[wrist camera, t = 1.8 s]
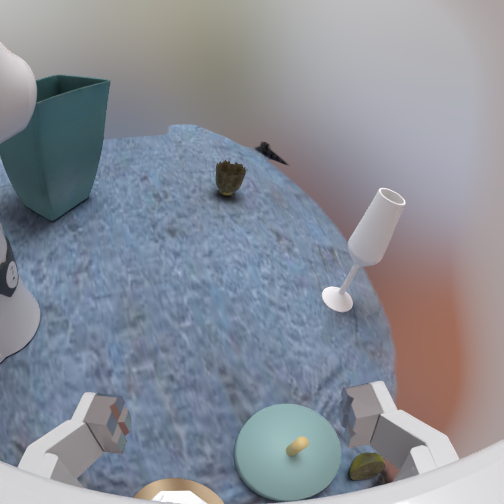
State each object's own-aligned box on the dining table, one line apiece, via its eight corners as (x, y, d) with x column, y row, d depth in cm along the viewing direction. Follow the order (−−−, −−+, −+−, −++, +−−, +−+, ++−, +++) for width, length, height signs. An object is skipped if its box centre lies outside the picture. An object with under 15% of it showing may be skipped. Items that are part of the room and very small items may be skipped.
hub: (243, 510, 30) (255, 507, 26) (226, 414, 40) (234, 396, 36) (344, 488, 34) (368, 479, 29) (319, 404, 44) (337, 385, 40)
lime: (377, 472, 36) (396, 463, 33) (354, 490, 33) (373, 484, 30) (361, 451, 38) (378, 440, 35) (337, 468, 36) (354, 460, 33)
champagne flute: (315, 296, 61) (367, 189, 46) (332, 281, 66) (381, 181, 51) (342, 317, 58) (404, 213, 43) (358, 300, 63) (415, 202, 48)
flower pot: (3, 208, 60) (-13, 95, 42) (59, 173, 75) (57, 73, 57) (49, 238, 57) (33, 103, 39) (109, 195, 72) (112, 80, 54)
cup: (242, 191, 86) (248, 164, 81) (237, 204, 80) (244, 176, 75) (215, 184, 85) (219, 157, 80) (208, 197, 80) (213, 169, 75)
